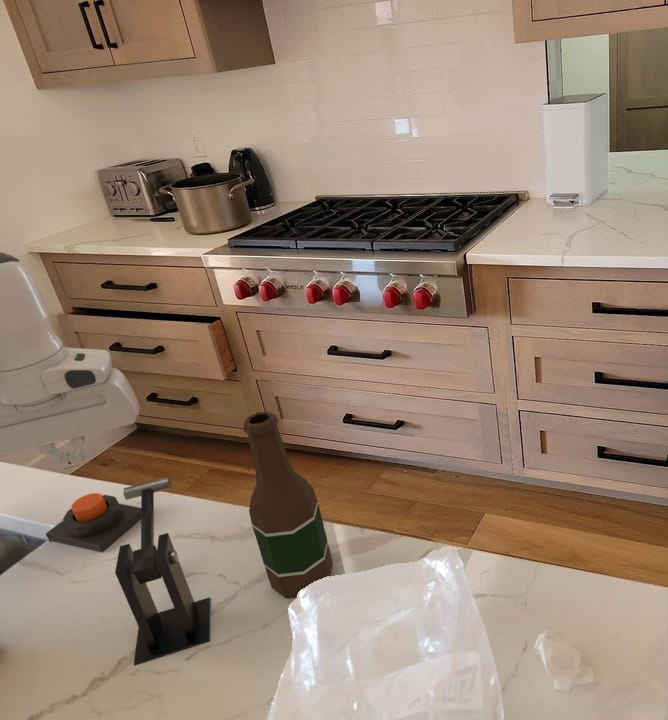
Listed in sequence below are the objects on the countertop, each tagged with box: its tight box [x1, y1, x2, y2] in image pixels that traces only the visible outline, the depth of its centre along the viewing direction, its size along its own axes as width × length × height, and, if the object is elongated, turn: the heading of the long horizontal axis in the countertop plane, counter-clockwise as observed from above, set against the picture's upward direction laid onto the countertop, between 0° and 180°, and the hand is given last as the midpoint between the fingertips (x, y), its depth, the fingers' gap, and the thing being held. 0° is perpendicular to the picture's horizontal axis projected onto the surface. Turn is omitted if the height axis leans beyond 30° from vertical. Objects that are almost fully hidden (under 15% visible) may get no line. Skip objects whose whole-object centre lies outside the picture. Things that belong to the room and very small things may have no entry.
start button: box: [70, 492, 107, 522], centre depth 95 cm, size 4×4×2 cm
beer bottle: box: [243, 410, 334, 600], centre depth 79 cm, size 8×8×24 cm
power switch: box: [114, 532, 212, 666], centre depth 76 cm, size 7×8×13 cm
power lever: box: [122, 476, 172, 584], centre depth 77 cm, size 13×5×2 cm, turn 19°
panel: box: [45, 494, 141, 553], centre depth 96 cm, size 10×8×4 cm
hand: (73, 465), depth 92 cm, fingers closed
